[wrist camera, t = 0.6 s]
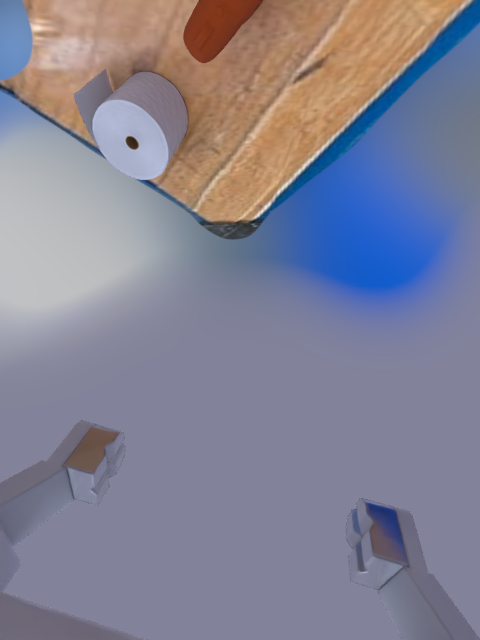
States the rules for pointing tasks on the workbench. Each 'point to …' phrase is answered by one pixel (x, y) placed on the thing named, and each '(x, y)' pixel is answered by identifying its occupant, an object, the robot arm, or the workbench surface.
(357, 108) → the workbench surface
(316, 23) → the workbench surface
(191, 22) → the toy drill
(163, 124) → the toilet tissue
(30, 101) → the workbench surface
